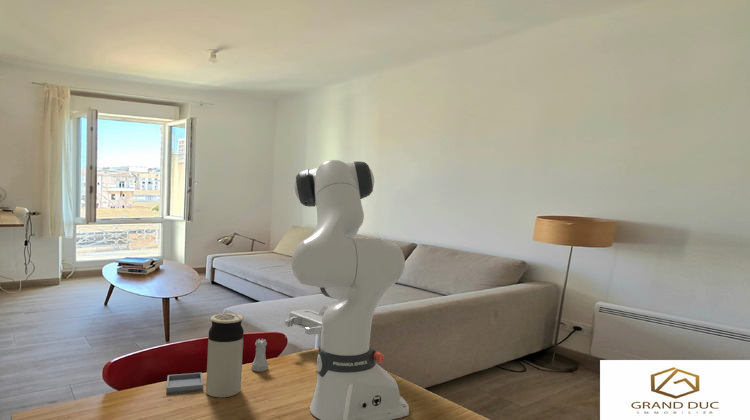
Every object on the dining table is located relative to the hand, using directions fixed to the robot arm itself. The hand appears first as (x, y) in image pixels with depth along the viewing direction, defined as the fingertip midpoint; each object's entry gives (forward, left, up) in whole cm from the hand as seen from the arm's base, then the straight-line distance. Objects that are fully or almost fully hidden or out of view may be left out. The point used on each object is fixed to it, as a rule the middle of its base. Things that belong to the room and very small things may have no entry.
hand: (296, 327), depth 140 cm
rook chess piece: (+11, +6, -10) cm, 16 cm away
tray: (+30, +13, -9) cm, 34 cm away
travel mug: (+21, +18, -10) cm, 30 cm away
